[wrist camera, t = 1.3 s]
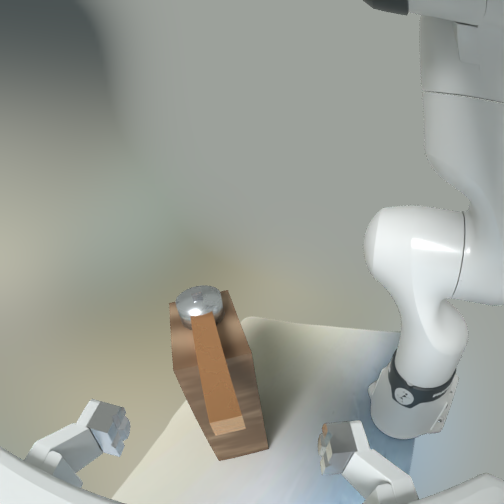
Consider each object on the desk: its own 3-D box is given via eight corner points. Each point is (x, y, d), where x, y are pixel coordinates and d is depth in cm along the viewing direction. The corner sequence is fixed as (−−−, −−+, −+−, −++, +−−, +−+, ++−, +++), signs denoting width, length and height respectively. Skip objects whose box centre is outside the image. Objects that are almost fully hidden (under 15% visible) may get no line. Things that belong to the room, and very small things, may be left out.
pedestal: (206, 403, 53) (169, 303, 42) (248, 393, 55) (227, 290, 44) (219, 460, 41) (173, 370, 30) (268, 448, 43) (251, 352, 31)
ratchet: (180, 308, 41) (172, 283, 39) (220, 299, 42) (215, 274, 40) (198, 439, 22) (184, 415, 20) (263, 423, 23) (258, 398, 21)
